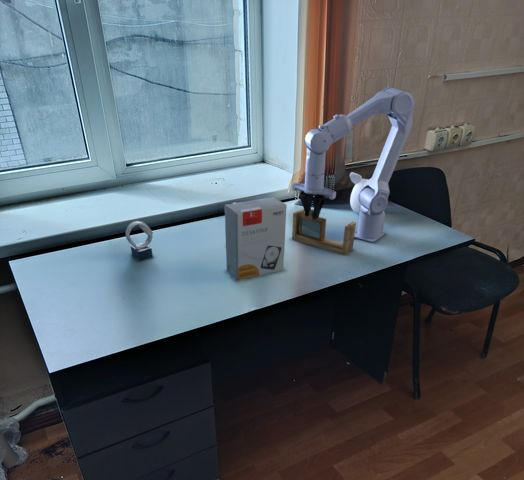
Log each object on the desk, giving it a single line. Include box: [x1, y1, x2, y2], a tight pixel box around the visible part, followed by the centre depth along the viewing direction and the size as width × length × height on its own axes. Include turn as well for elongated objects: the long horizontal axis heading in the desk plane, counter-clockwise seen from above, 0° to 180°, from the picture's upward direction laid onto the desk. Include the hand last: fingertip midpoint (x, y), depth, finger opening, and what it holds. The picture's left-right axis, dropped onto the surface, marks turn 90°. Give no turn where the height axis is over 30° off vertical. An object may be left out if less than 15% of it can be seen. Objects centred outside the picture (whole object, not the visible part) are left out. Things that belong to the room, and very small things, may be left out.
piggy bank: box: [349, 171, 370, 215], centre depth 175 cm, size 12×12×15 cm
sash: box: [299, 208, 324, 241], centre depth 155 cm, size 2×9×9 cm, turn 54°
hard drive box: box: [224, 196, 287, 282], centre depth 136 cm, size 16×8×20 cm, turn 117°
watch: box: [125, 220, 154, 262], centre depth 146 cm, size 6×8×11 cm
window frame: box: [291, 208, 357, 256], centre depth 154 cm, size 5×20×9 cm, turn 54°
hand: (311, 216), depth 153 cm, fingers open, 3 cm apart
